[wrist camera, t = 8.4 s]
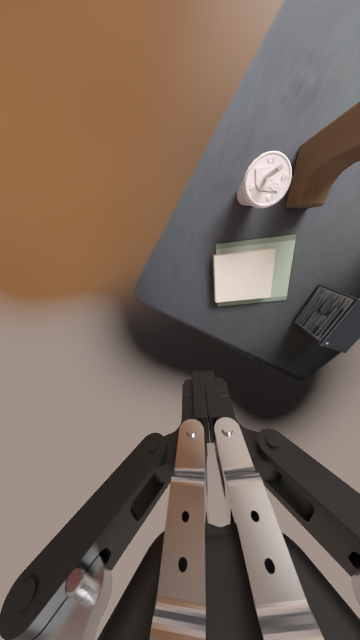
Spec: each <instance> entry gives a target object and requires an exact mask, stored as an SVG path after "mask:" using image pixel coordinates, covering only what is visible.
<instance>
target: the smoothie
mask: <svg viewBox="0 0 360 640" xmlns="http://www.w3.org/2000/svg"><path fill="white" fill-rule="evenodd" d="M291 178H292V168H291V164H290V161H289V159H288V158H287V157H286V156H285V155H284V154H283V153H281V152H279V151H268V152H265V153H263V154H262V155H260V156H259V157H258V158H256V159H255V160H254V161H253V162H252V163H251V165H250V166H249V167H248V169H247V171H246V174H245V177H244V180H243V182H242V184H241V185H240V187H239V189H238V191H237V200H238V202H239V203H240V204H241V205H244V206H254V207H256V208H267V207H269V206H272V205H274V204H275V203H277V202H278V201H279V200H280V199H281V198H282V197H283V196H284V195H285V193H286V192H287V190H288V188H289V186H290V183H291Z"/></svg>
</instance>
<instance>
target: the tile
mask: <svg viewBox="0 0 360 640" xmlns="http://www.w3.org/2000/svg"><path fill="white" fill-rule="evenodd" d="M275 252H276V249H274V248H265V249H257V250H248V251H240V252H232V253H223V254H215V255H213V284H214V300H215V303H217V302H227V301H238V300H248V299H258V298H268V297H271V288H272V279H273V270H274V261H275Z"/></svg>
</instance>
